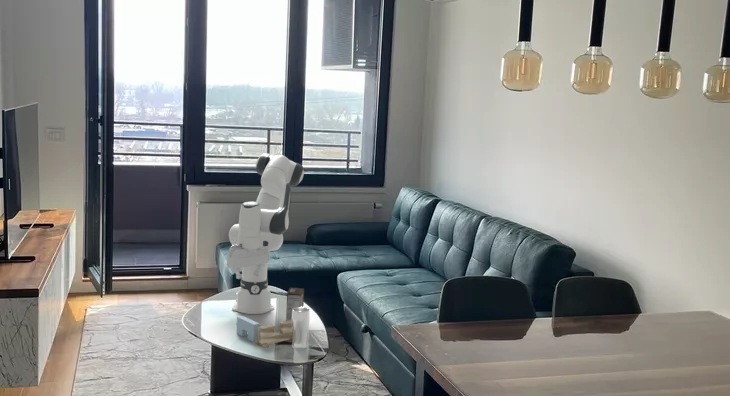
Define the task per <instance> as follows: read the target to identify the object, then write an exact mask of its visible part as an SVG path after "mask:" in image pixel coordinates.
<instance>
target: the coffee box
mask: <svg viewBox="0 0 730 396" xmlns="http://www.w3.org/2000/svg"><path fill="white" fill-rule="evenodd" d="M304 302H305V288H299V287H289V288H288V291H287V293H286V311H285V312H286V313H285V315H286V316H285V321H289V320H291V318H292V309H293V308H295V307H305V305H304Z"/></svg>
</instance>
